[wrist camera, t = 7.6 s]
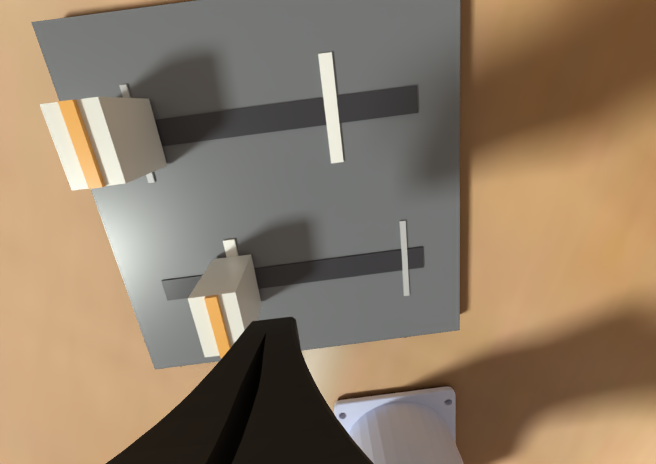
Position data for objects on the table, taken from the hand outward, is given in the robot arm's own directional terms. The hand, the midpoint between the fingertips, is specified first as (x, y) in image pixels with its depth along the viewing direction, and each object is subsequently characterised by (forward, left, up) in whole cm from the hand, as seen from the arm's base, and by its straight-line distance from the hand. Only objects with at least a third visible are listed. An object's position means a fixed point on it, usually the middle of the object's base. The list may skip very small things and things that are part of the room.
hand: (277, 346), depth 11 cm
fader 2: (-2, +3, -8) cm, 9 cm away
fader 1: (+6, +6, -8) cm, 12 cm away
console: (+2, 0, -10) cm, 10 cm away
